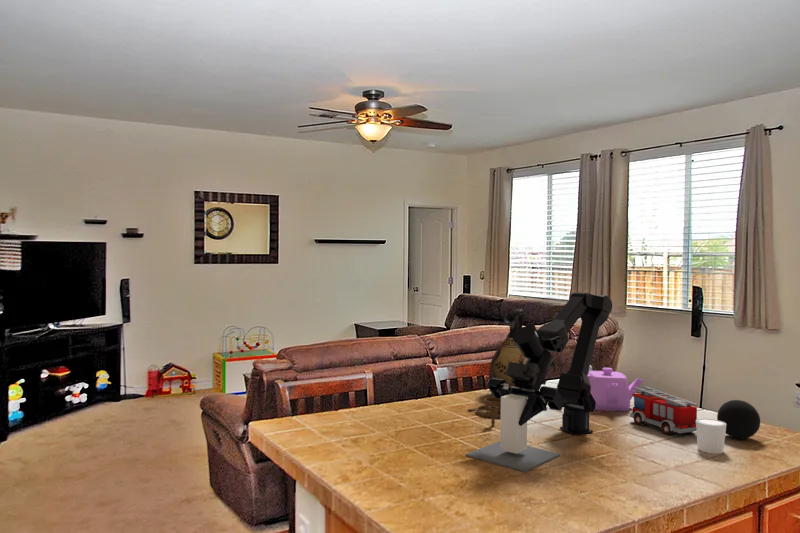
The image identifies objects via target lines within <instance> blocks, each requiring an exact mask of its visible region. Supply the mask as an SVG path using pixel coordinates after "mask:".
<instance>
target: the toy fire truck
mask: <svg viewBox="0 0 800 533" xmlns="http://www.w3.org/2000/svg"><path fill="white" fill-rule="evenodd" d="M633 389H636V390H637V391H640V392H637V393H636V392H635V393H634V394H632V396H633V397H632V398H633V406H632V409H631V410H630V412H629V417H630V418H632V419H633V422H634V424H635V425H637V426H643V425H645V423H648V424H651V425H654V426H657V427H660V429H661V431H662V434H663V435H665V436H671V435H673V434H674V432H675V433H678V434H683V433H688V434H689V433H694V432H697V431H696V420H697V418H698V417H697V416H698V415H697V414H698V403H695V402H692V401H690V400H687V399H685V398H684V399H683V398H682V397H678V396H675V395H672V394H669V393H667V392H664V391H661V390H657V389H655V388H653V387H649V386H645V385H643V386H642V388H640V387H639V388H637V387H633Z"/></svg>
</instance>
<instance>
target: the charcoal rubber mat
mask: <svg viewBox="0 0 800 533" xmlns="http://www.w3.org/2000/svg"><path fill="white" fill-rule="evenodd" d="M465 456H466V457H469V458H473V459H476V460H479V461H484V462H487V463H491V464H493V465H498V466H501V467H505V468H509V469H512V470H516V471H519V472H523V473H526V472H528V471H531V470H533V469H535V468H537V467H539V466H541V465H544V464H545V463H549V461H552V460H554V459H556V458H558V457H561V453H558V452H554V451H550V450H546V449H541V448H538V447H533V446H529V445H527V449H526V450H524V451H522V452H519V453H517V454H516V453H512V452H508V451H504V450H500V440H499V441H497V442H494V443H491V444H488V445H486V446H483V447H481V448H478V449H475V450H473V451H470V452H467V453H465Z"/></svg>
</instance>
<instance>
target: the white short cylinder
mask: <svg viewBox="0 0 800 533" xmlns="http://www.w3.org/2000/svg"><path fill="white" fill-rule="evenodd" d="M695 432H696V439H697V440H696V442H697V449H698V450H699V451H700V452H701V451H702V452H704V453H706V454H707V453H709V454H722V453H724V449H725V440H726V433H725V432H726V423H725V422H722V421H718V420H717V419H710V418H698V419H697V420H696V431H695Z"/></svg>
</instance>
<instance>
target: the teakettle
mask: <svg viewBox="0 0 800 533" xmlns="http://www.w3.org/2000/svg"><path fill="white" fill-rule="evenodd" d="M613 370H614V369H613V368H611V367H602V370H592V371H589V373H588V379H589V382H590V385H591V390H590V393H591V394H592V396H593V398H594V400H595V401H596V405H595V410H594V411H603V410H605V411H607V412H608V411H609V412H629V410H630V407H631V400H632V399H633V398H634V397H633V396H632V394H634V393H636V392H637V391H638V390H636V389H633V387H637V388H640V386H641V385H642V383H643V382H644V380H643V379H641V378H637V377H636V379H635V380H633V381H632V383H630V384H629V382H628V381H629V380H628V378H627V376H626V375H625V374H624V373H622V372H620V371H613ZM605 411H604V412H605Z"/></svg>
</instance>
